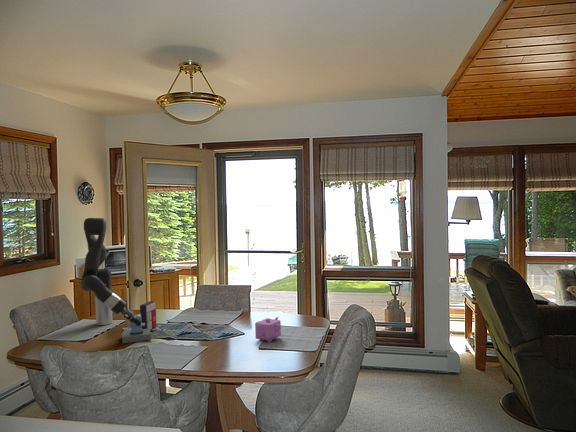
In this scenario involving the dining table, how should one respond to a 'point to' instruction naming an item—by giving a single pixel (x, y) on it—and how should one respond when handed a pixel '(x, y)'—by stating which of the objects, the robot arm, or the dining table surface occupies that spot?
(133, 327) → the servo
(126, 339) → the chassis
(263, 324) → the teapot
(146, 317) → the grey red upright box
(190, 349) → the dining table surface
